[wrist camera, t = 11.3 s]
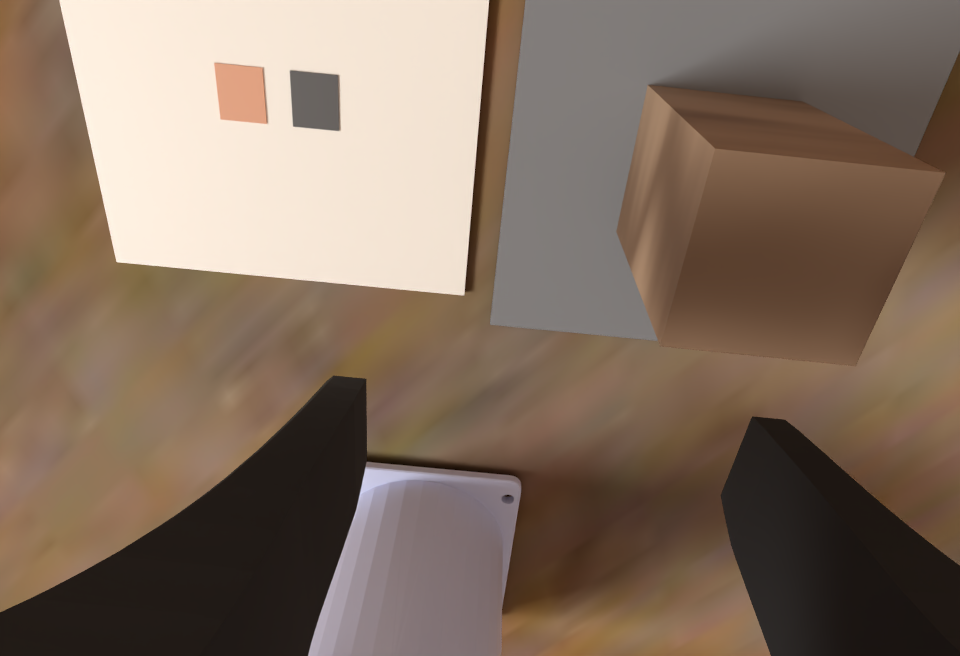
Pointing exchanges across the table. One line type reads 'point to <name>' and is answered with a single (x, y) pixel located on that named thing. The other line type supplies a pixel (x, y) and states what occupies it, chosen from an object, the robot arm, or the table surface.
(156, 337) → the table surface
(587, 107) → the grey mat
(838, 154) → the walnut block
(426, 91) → the cream mat
